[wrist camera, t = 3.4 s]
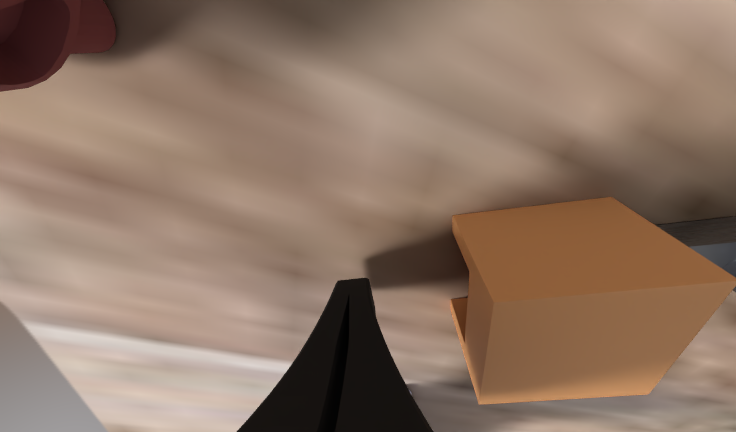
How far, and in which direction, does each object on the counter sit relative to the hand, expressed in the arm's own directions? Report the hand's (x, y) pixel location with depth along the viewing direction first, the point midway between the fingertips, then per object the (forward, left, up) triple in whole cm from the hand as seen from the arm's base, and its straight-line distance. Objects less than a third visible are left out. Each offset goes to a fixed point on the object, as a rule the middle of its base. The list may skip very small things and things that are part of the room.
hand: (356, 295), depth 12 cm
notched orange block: (0, -7, -1) cm, 7 cm away
